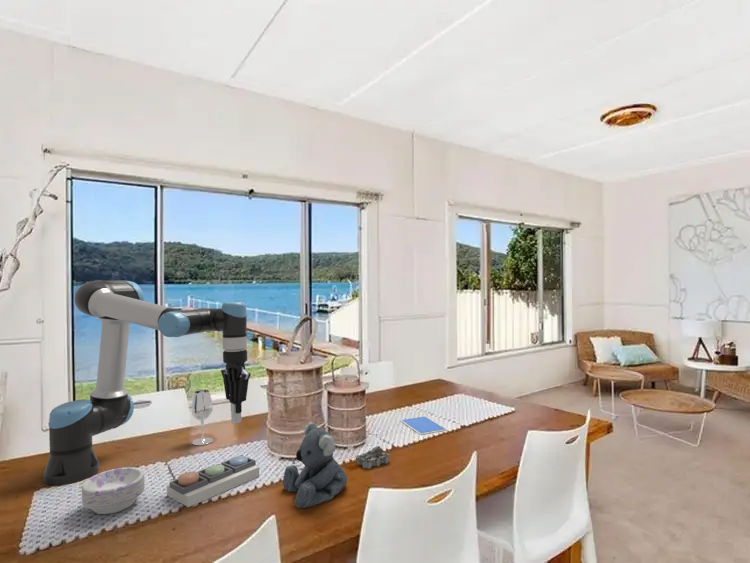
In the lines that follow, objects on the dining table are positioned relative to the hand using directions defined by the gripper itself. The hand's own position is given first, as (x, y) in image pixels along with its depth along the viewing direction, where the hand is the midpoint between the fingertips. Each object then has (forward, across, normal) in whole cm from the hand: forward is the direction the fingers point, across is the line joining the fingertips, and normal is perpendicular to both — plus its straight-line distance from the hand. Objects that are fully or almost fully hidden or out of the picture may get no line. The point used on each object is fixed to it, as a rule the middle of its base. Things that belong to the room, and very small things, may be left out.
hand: (236, 422), depth 141 cm
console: (+17, 0, +8) cm, 19 cm away
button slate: (+14, 0, 0) cm, 14 cm away
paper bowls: (+18, +12, +32) cm, 38 cm away
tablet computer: (+18, -24, -76) cm, 81 cm away
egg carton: (+18, -30, -34) cm, 48 cm away
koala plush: (+18, -29, -8) cm, 35 cm away
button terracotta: (+13, 0, +17) cm, 21 cm away
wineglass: (+18, +38, -10) cm, 43 cm away
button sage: (+14, 0, +8) cm, 16 cm away
